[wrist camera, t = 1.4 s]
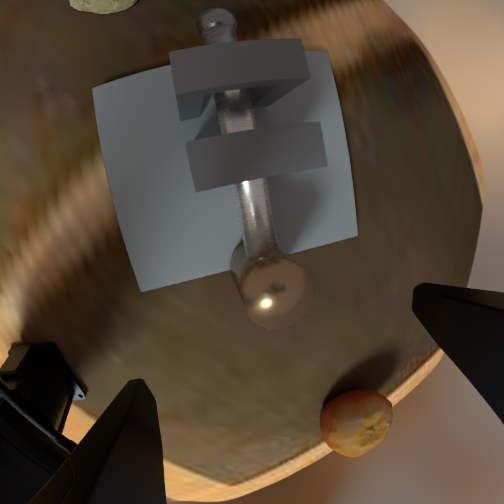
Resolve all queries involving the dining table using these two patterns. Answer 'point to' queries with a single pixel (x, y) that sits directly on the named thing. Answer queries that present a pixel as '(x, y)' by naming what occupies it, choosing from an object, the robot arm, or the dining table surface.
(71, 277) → the dining table surface
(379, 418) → the fruit
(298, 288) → the metal knob rod
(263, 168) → the barrel bolt latch
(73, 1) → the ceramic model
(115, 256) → the dining table surface
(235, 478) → the dining table surface
